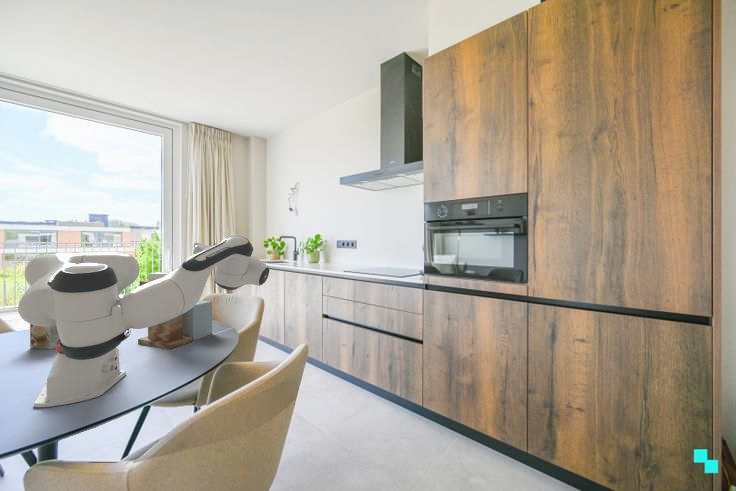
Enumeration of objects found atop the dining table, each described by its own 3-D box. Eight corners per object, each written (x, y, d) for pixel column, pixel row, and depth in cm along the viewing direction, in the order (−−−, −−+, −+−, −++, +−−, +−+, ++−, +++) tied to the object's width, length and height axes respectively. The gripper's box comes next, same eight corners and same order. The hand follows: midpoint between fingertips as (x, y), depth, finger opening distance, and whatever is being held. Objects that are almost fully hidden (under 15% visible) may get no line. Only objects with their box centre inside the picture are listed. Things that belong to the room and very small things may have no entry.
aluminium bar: (200, 282, 124) (200, 274, 124) (192, 283, 121) (192, 275, 121) (157, 279, 132) (157, 272, 132) (148, 280, 128) (148, 273, 128)
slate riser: (212, 333, 141) (212, 301, 141) (193, 340, 131) (193, 305, 131) (195, 331, 144) (195, 299, 144) (175, 338, 135) (175, 303, 134)
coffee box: (28, 348, 120) (28, 307, 120) (47, 343, 127) (47, 304, 126) (49, 349, 119) (49, 308, 119) (67, 344, 126) (67, 305, 125)
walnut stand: (192, 341, 130) (192, 280, 130) (170, 349, 121) (170, 283, 120) (161, 336, 136) (161, 278, 136) (138, 344, 127) (137, 281, 126)
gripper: (207, 268, 106) (179, 252, 110) (247, 265, 126) (222, 252, 129) (213, 251, 105) (185, 236, 109) (252, 251, 125) (227, 238, 129)
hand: (205, 244), depth 120 cm, fingers open, 8 cm apart
